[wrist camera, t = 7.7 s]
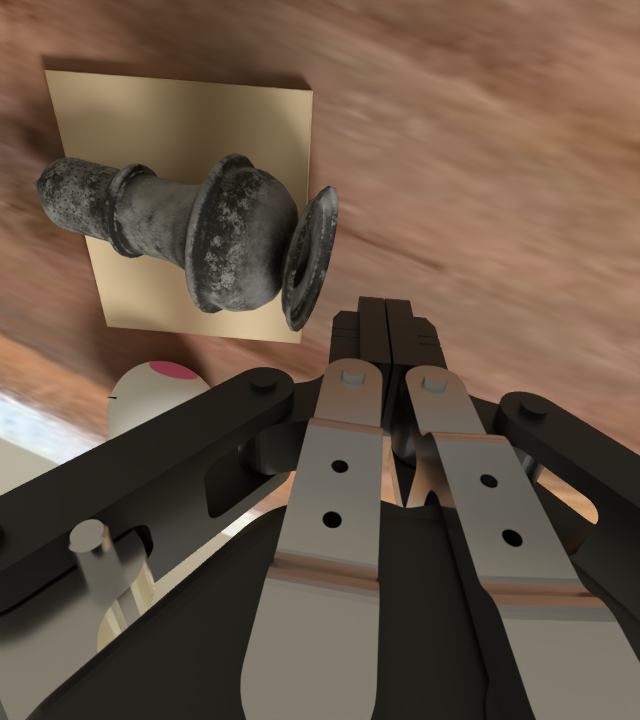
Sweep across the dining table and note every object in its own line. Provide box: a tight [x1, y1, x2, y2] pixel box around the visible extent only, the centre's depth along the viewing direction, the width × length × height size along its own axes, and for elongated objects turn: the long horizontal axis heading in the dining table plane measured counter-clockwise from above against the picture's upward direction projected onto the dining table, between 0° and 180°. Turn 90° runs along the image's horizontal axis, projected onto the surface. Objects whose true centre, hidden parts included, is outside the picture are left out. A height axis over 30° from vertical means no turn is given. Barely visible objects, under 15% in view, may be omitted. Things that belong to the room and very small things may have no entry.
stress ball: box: [107, 361, 211, 440], centre depth 24 cm, size 8×8×7 cm
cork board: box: [45, 70, 313, 343], centre depth 19 cm, size 10×11×1 cm
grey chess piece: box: [34, 153, 338, 332], centre depth 17 cm, size 6×6×12 cm
